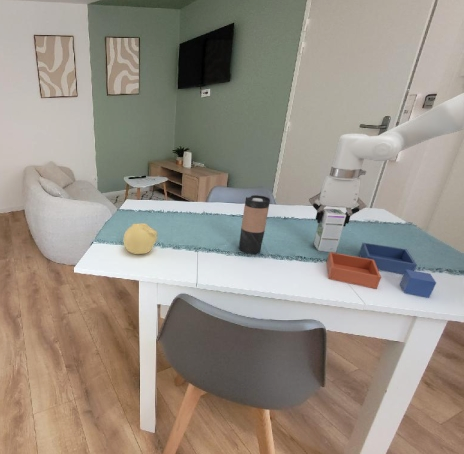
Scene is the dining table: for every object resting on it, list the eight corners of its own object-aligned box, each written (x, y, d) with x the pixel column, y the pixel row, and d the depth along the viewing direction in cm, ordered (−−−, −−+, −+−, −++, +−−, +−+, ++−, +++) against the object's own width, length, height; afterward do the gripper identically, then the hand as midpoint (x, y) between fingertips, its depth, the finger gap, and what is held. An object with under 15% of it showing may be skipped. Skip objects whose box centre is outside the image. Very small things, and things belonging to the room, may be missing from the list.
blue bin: (402, 259, 97) (406, 249, 95) (412, 276, 88) (416, 264, 86) (359, 252, 102) (362, 242, 101) (364, 267, 94) (368, 256, 92)
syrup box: (336, 252, 103) (348, 214, 97) (316, 251, 105) (327, 213, 99) (330, 245, 108) (341, 209, 102) (312, 244, 110) (321, 208, 104)
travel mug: (262, 255, 103) (272, 202, 96) (238, 253, 106) (246, 201, 98) (259, 246, 110) (268, 195, 102) (237, 244, 113) (244, 194, 105)
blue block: (423, 288, 82) (430, 273, 80) (429, 298, 78) (436, 282, 76) (399, 283, 85) (405, 269, 83) (403, 292, 81) (410, 277, 79)
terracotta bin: (370, 270, 92) (374, 259, 90) (376, 289, 83) (381, 277, 82) (326, 262, 97) (329, 251, 96) (328, 278, 89) (332, 267, 87)
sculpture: (161, 251, 110) (162, 224, 106) (137, 261, 104) (137, 233, 100) (141, 241, 119) (141, 216, 115) (118, 249, 113) (117, 224, 109)
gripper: (377, 172, 94) (360, 223, 101) (312, 169, 103) (301, 216, 110) (381, 177, 88) (364, 231, 95) (312, 173, 97) (301, 223, 104)
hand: (330, 223), depth 102 cm, fingers closed on syrup box, 6 cm apart
